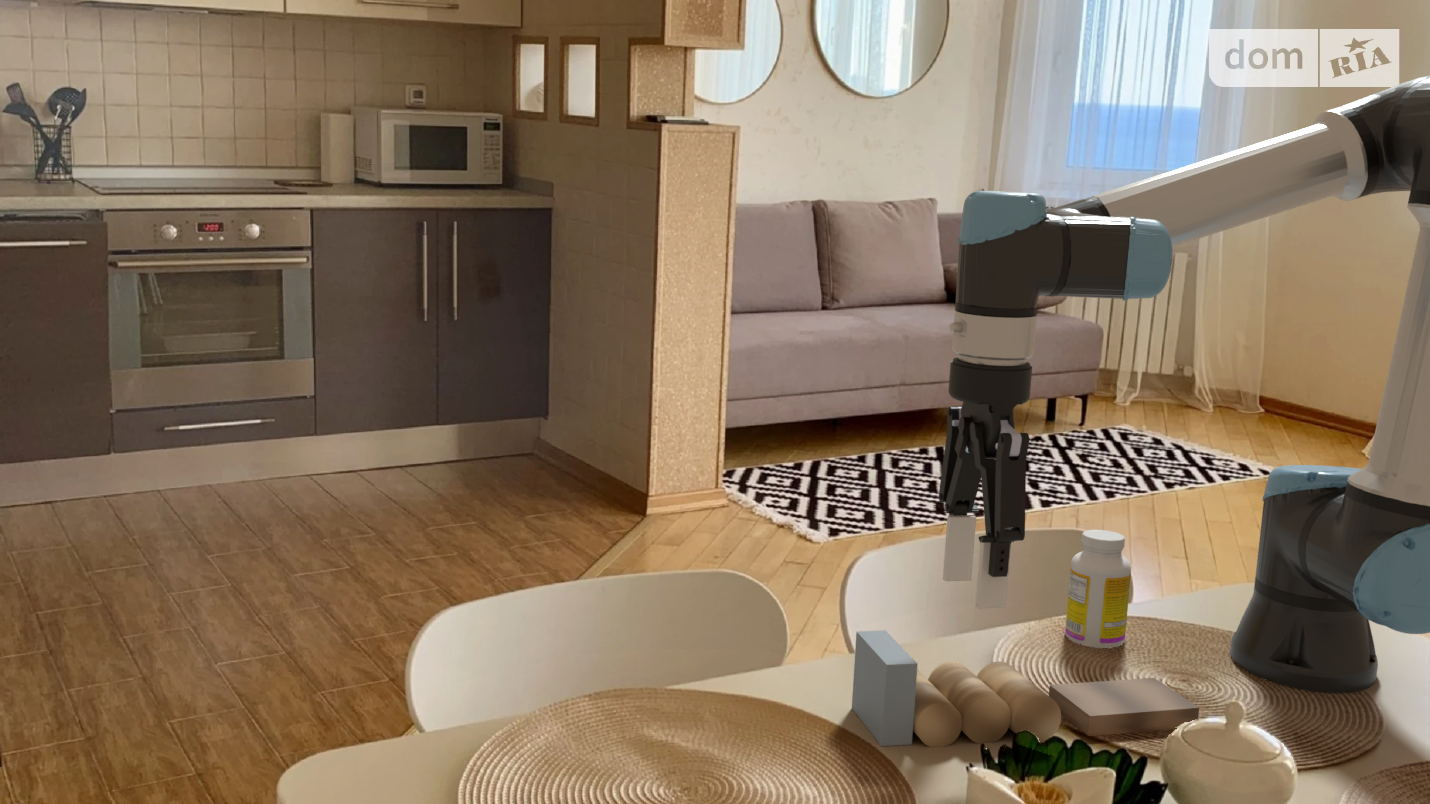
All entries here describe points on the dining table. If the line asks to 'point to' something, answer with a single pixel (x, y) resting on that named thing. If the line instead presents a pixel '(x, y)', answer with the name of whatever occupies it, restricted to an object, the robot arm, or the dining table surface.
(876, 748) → the dining table surface
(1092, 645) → the supplement bottle
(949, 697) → the roller
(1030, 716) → the roller
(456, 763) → the dining table surface
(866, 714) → the block
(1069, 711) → the walnut board
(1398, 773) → the dining table surface
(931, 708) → the roller
